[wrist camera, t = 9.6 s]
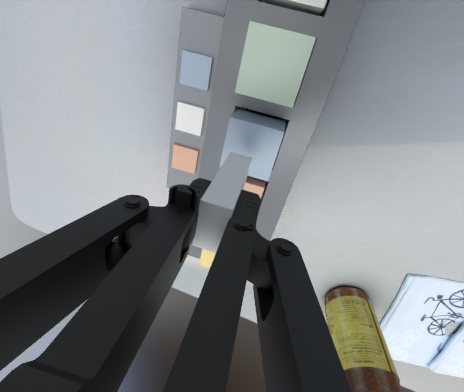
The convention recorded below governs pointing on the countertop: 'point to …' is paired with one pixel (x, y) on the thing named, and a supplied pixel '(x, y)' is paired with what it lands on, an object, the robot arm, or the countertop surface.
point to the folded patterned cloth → (427, 324)
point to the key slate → (254, 141)
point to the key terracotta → (254, 185)
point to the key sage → (273, 63)
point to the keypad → (227, 101)
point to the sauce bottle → (360, 342)
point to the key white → (300, 5)
